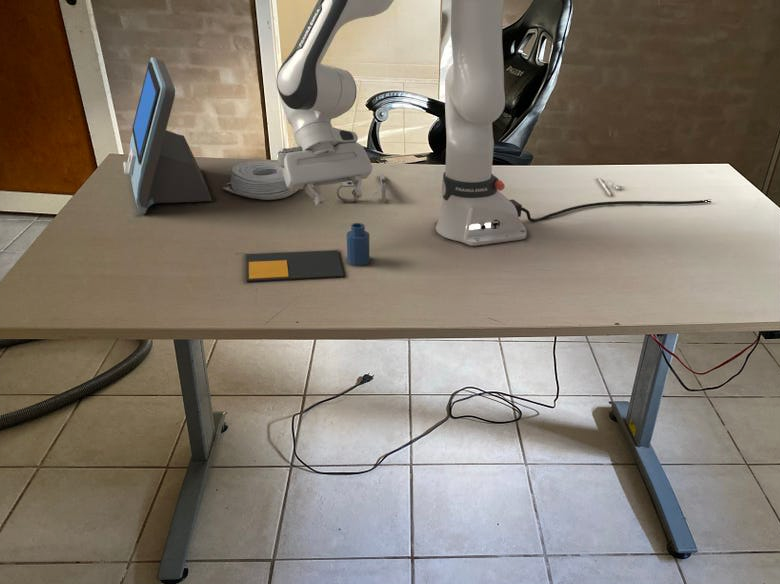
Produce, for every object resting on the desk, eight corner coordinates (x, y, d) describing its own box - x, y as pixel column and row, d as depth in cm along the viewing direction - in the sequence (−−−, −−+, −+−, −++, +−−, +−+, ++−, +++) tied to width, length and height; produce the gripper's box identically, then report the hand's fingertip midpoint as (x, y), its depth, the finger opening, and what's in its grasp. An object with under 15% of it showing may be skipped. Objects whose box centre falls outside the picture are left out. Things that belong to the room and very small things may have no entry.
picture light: (597, 179, 221) (598, 172, 220) (611, 180, 222) (612, 173, 221) (609, 196, 210) (610, 189, 209) (623, 196, 210) (625, 189, 209)
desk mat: (337, 251, 167) (337, 249, 167) (344, 277, 157) (343, 274, 156) (246, 255, 163) (246, 253, 162) (246, 282, 152) (246, 279, 152)
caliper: (385, 203, 194) (386, 180, 191) (381, 203, 194) (381, 180, 191) (383, 177, 211) (383, 156, 208) (379, 177, 211) (379, 156, 208)
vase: (367, 256, 166) (367, 220, 162) (370, 265, 162) (370, 229, 158) (346, 257, 165) (345, 221, 161) (348, 266, 161) (347, 230, 157)
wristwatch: (337, 203, 192) (336, 185, 189) (336, 199, 194) (336, 181, 192) (361, 203, 193) (361, 184, 191) (360, 199, 195) (360, 181, 193)
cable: (218, 190, 195) (215, 167, 191) (268, 174, 207) (266, 153, 204) (263, 207, 187) (261, 184, 183) (313, 190, 199) (311, 168, 196)
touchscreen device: (124, 169, 203) (106, 53, 187) (198, 167, 211) (187, 55, 195) (130, 216, 176) (111, 86, 161) (215, 211, 184) (204, 86, 168)
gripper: (277, 142, 156) (300, 201, 155) (362, 131, 167) (384, 187, 165) (270, 157, 161) (292, 214, 160) (353, 146, 172) (374, 199, 171)
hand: (339, 200), depth 163 cm, fingers open, 8 cm apart
